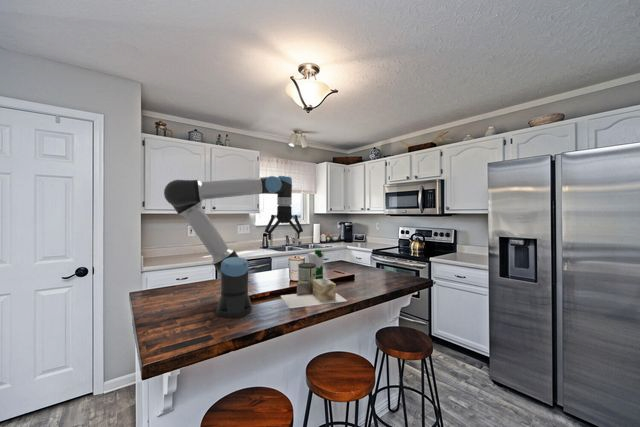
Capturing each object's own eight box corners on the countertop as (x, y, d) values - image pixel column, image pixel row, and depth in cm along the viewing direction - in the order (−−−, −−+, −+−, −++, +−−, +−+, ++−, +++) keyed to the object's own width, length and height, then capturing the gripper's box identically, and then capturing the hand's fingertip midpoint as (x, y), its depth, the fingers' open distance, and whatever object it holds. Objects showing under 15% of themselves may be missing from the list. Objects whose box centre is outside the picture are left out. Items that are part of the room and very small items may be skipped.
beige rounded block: (320, 301, 136) (321, 285, 136) (312, 294, 147) (312, 279, 147) (335, 299, 139) (335, 283, 139) (326, 292, 150) (326, 277, 150)
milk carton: (314, 283, 170) (315, 251, 169) (305, 280, 176) (306, 249, 176) (325, 281, 175) (325, 250, 175) (316, 278, 182) (316, 248, 182)
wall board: (289, 309, 127) (289, 308, 127) (280, 296, 144) (280, 295, 144) (347, 302, 138) (347, 300, 138) (332, 291, 155) (332, 290, 155)
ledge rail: (297, 296, 145) (298, 283, 145) (296, 295, 147) (296, 282, 147) (332, 292, 153) (332, 280, 153) (330, 291, 155) (331, 279, 154)
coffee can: (299, 285, 165) (299, 262, 165) (316, 286, 164) (317, 263, 164) (296, 291, 155) (296, 266, 154) (314, 291, 154) (314, 266, 153)
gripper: (261, 205, 137) (261, 247, 137) (309, 206, 146) (308, 245, 146) (259, 205, 143) (259, 245, 144) (304, 205, 153) (304, 243, 153)
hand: (283, 245), depth 145 cm, fingers open, 13 cm apart
